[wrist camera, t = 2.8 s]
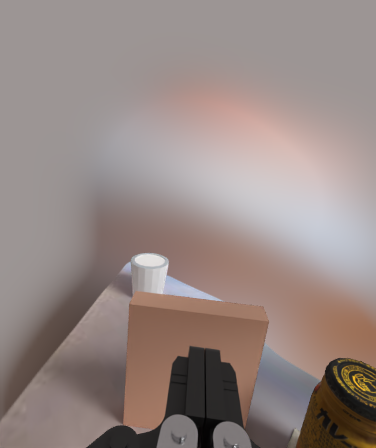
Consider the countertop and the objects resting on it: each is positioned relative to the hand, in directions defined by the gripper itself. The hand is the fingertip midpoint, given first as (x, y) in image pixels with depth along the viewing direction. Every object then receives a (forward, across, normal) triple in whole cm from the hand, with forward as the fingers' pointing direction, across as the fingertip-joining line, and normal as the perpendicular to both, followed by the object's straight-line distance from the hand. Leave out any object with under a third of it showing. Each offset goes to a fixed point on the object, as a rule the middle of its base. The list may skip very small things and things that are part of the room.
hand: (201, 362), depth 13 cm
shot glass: (+34, +8, +17) cm, 39 cm away
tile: (+10, 0, +17) cm, 20 cm away
